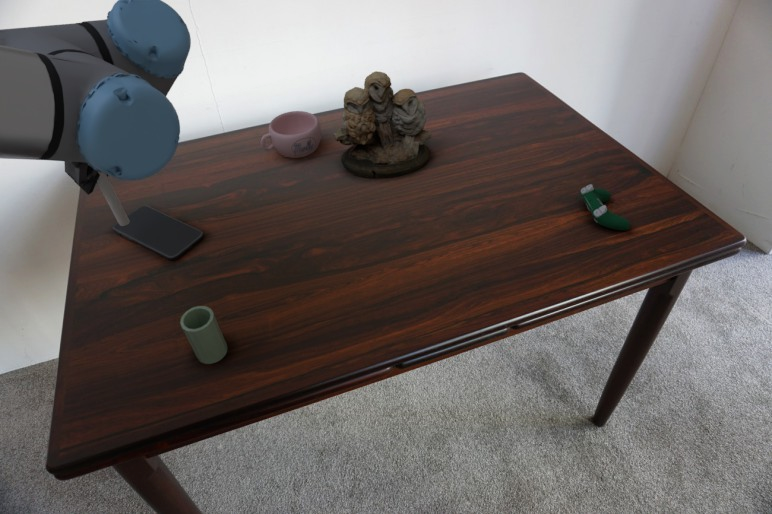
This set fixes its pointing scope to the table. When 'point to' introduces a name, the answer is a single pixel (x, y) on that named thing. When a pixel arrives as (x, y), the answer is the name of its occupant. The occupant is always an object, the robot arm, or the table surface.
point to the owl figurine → (383, 130)
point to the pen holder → (204, 334)
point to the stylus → (112, 199)
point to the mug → (294, 134)
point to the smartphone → (159, 232)
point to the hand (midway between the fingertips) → (89, 182)
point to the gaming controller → (602, 208)
